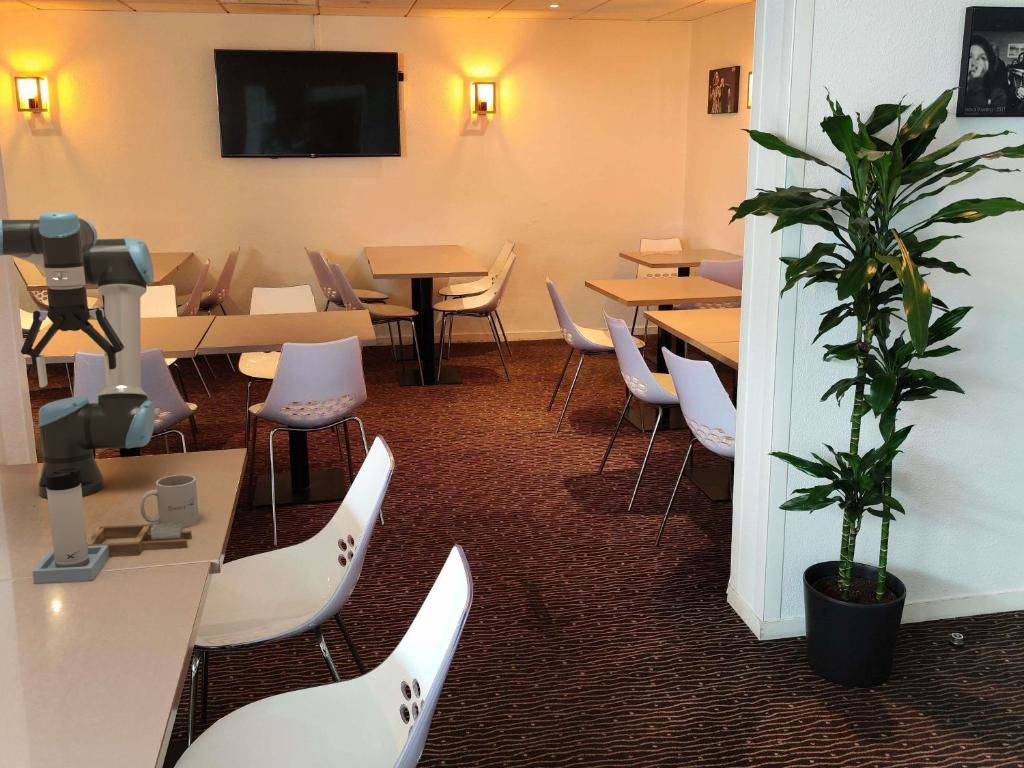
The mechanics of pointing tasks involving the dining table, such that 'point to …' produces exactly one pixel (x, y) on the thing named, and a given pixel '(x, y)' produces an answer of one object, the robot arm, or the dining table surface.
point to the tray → (52, 574)
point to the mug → (174, 500)
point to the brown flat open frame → (139, 543)
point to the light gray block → (167, 531)
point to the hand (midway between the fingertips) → (77, 385)
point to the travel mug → (67, 518)
